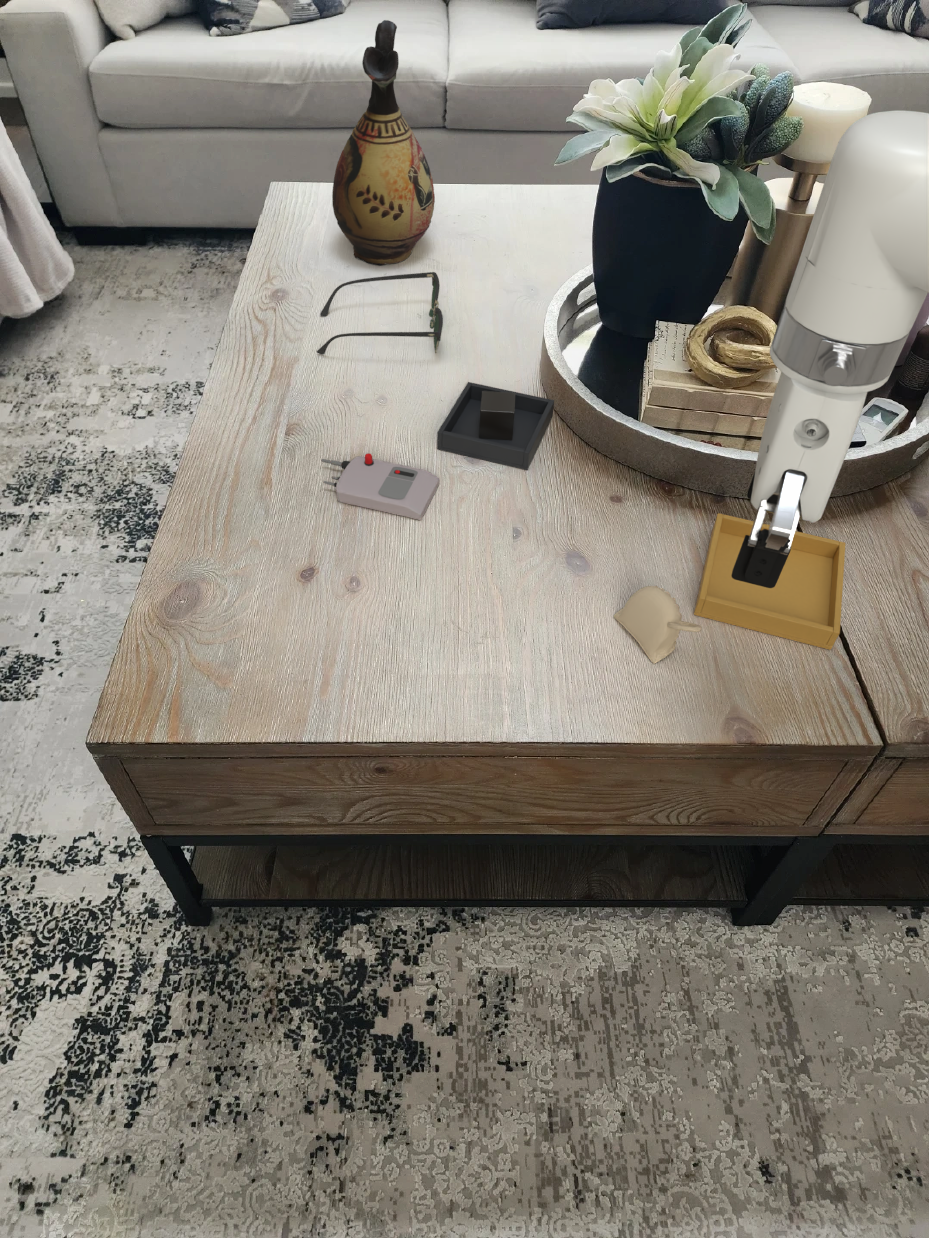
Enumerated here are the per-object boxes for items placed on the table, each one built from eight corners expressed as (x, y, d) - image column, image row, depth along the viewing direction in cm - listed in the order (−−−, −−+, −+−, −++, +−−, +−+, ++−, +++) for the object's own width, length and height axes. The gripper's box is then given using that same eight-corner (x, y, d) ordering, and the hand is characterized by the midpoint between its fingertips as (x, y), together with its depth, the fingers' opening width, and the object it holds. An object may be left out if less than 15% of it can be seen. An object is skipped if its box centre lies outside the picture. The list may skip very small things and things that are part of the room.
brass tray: (837, 559, 90) (845, 542, 88) (830, 650, 81) (840, 633, 79) (712, 530, 92) (717, 512, 90) (693, 614, 84) (699, 597, 82)
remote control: (436, 524, 92) (436, 503, 90) (303, 495, 95) (300, 473, 92) (455, 487, 96) (455, 466, 94) (327, 459, 99) (324, 438, 97)
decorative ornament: (646, 602, 85) (656, 564, 81) (696, 661, 80) (710, 624, 76) (612, 615, 84) (621, 577, 80) (661, 676, 79) (672, 639, 75)
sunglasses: (321, 305, 123) (317, 271, 119) (438, 303, 123) (438, 270, 120) (315, 368, 112) (311, 333, 108) (444, 365, 113) (444, 331, 109)
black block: (513, 420, 104) (515, 392, 101) (512, 440, 101) (514, 412, 98) (480, 418, 104) (482, 390, 101) (479, 438, 101) (480, 410, 98)
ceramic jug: (433, 276, 129) (432, 46, 107) (331, 273, 129) (309, 43, 106) (436, 227, 140) (436, 10, 118) (343, 224, 140) (325, 6, 118)
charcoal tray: (552, 417, 105) (554, 400, 104) (527, 470, 98) (529, 453, 97) (467, 398, 108) (468, 381, 106) (437, 449, 101) (437, 432, 99)
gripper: (898, 430, 47) (799, 630, 60) (900, 288, 58) (816, 483, 71) (761, 402, 49) (693, 603, 61) (788, 269, 59) (725, 463, 72)
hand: (759, 539), depth 66 cm, fingers open, 9 cm apart
